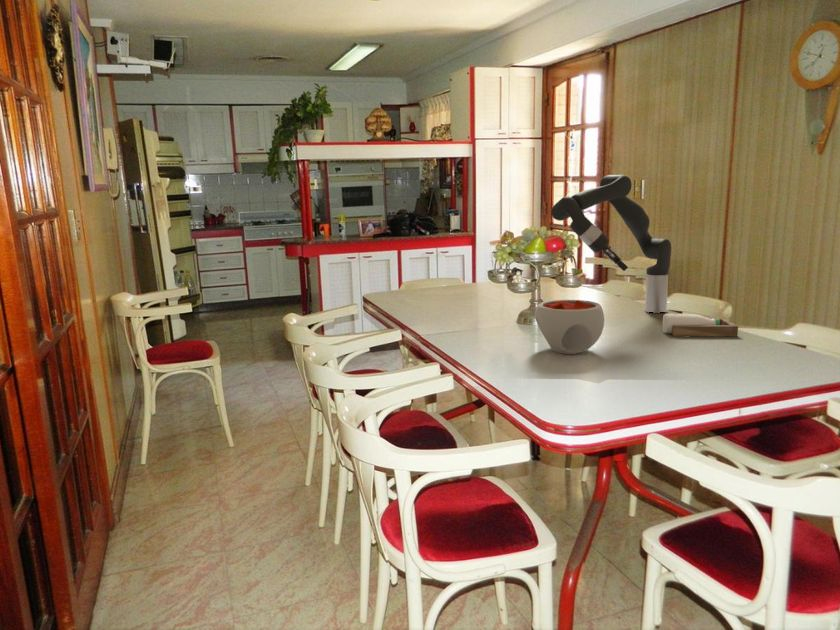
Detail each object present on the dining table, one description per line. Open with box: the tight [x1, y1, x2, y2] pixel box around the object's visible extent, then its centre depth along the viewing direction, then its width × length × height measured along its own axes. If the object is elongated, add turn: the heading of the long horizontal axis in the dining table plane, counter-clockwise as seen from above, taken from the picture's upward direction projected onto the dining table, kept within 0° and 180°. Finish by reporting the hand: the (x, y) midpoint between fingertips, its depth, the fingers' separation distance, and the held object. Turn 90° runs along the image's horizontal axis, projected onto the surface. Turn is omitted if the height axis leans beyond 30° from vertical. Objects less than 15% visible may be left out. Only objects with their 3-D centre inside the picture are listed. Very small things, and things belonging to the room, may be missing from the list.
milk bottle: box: [662, 313, 720, 334], centre depth 243 cm, size 8×8×20 cm
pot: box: [534, 299, 605, 355], centre depth 222 cm, size 24×24×18 cm
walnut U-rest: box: [671, 317, 739, 338], centre depth 245 cm, size 15×23×4 cm, turn 82°
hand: (625, 269), depth 244 cm, fingers closed
